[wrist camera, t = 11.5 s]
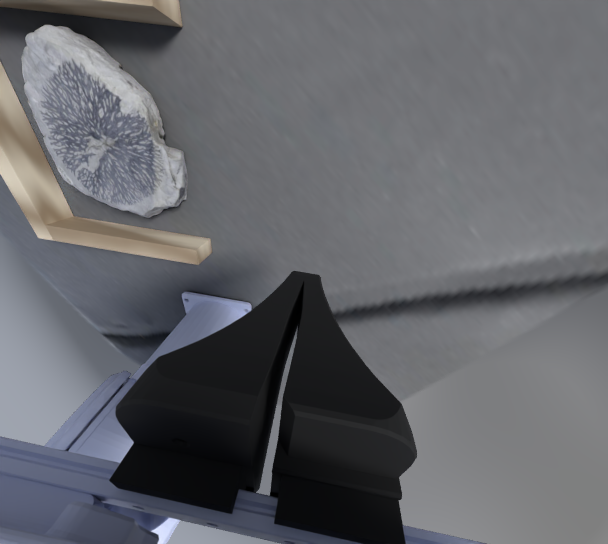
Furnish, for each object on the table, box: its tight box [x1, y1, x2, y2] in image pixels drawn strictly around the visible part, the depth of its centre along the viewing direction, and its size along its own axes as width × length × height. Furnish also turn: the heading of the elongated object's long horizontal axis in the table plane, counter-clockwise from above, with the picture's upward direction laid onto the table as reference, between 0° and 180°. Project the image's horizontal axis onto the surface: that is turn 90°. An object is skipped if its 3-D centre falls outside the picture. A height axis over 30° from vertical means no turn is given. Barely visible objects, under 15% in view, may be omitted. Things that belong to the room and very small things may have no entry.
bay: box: [0, 0, 212, 265], centre depth 16 cm, size 17×16×2 cm
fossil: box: [21, 25, 187, 218], centre depth 16 cm, size 11×4×10 cm
